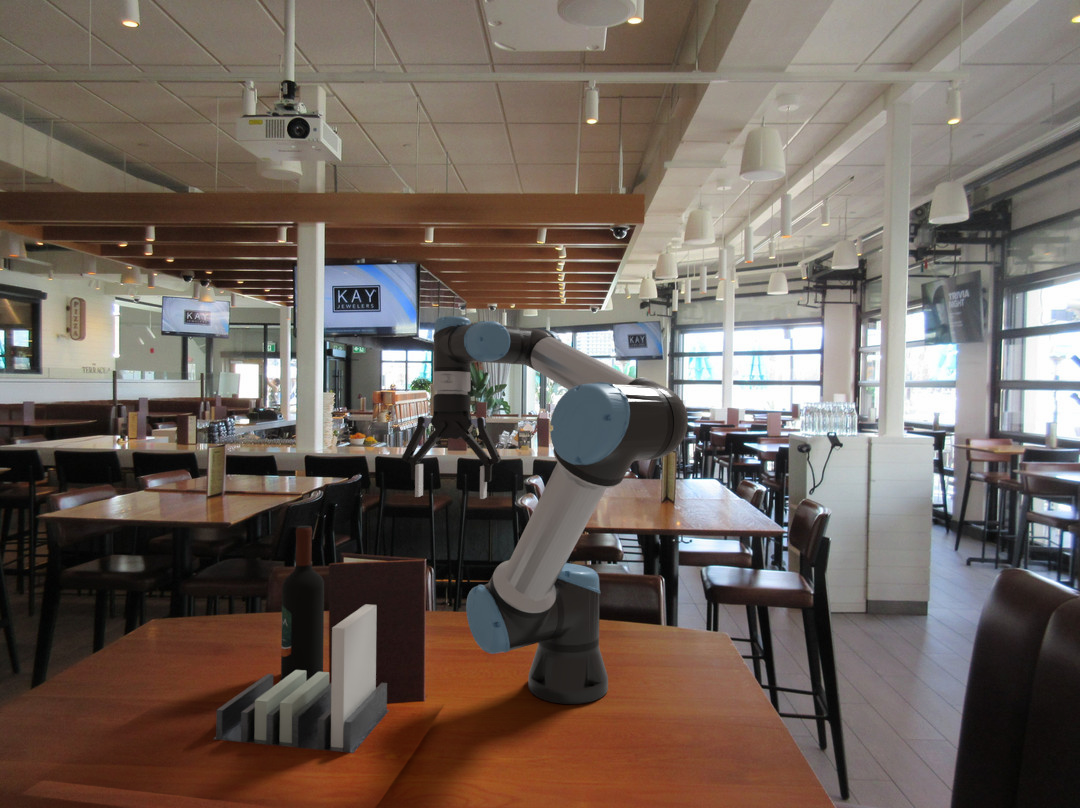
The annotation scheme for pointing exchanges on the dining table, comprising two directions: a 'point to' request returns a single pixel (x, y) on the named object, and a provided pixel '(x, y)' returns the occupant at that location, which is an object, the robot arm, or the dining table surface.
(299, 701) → the offcut
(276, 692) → the offcut
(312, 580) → the wine bottle
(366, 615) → the tall sheet
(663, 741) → the dining table surface
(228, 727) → the rack
